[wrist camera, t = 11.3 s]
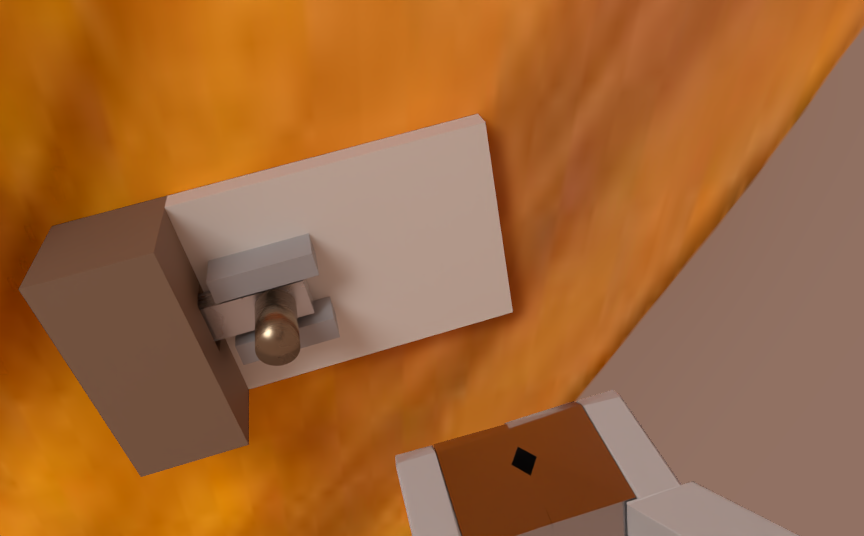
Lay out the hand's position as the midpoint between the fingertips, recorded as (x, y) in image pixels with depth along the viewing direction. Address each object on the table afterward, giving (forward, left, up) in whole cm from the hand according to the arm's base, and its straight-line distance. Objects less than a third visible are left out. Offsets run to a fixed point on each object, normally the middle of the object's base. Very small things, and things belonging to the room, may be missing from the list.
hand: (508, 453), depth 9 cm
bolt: (+10, +15, -29) cm, 35 cm away
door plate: (+5, +15, -31) cm, 35 cm away
